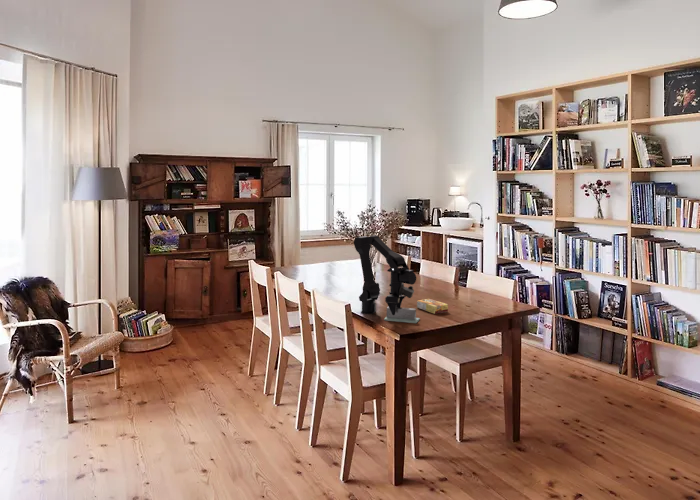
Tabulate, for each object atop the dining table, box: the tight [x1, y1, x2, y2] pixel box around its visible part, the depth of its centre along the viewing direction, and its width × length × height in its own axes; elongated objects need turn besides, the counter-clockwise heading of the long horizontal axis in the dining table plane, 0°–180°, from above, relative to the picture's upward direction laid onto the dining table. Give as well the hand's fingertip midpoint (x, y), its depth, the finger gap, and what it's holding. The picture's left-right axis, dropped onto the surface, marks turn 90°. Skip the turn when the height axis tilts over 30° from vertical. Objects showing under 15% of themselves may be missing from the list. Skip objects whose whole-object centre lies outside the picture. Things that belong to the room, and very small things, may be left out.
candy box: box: [416, 298, 449, 315], centre depth 283 cm, size 9×4×15 cm
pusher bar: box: [386, 305, 417, 320], centre depth 264 cm, size 14×3×5 cm, turn 71°
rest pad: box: [383, 316, 421, 324], centre depth 264 cm, size 16×7×1 cm, turn 71°
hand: (396, 312), depth 264 cm, fingers open, 9 cm apart
